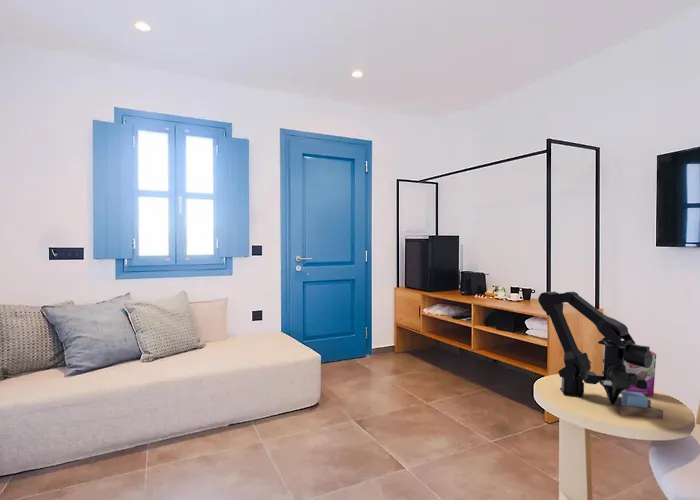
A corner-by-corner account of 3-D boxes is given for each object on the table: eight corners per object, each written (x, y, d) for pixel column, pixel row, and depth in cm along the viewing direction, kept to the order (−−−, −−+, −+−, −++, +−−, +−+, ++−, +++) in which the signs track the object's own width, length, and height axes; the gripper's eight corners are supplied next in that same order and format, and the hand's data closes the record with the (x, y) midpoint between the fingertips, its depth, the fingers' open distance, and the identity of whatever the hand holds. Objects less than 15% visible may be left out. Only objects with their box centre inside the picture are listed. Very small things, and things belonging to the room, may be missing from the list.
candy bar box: (620, 393, 150) (622, 350, 149) (615, 388, 155) (617, 347, 154) (654, 396, 147) (656, 353, 147) (647, 391, 152) (650, 349, 152)
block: (626, 412, 134) (627, 396, 134) (621, 406, 138) (621, 391, 138) (647, 414, 132) (647, 398, 132) (640, 408, 137) (641, 393, 137)
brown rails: (621, 413, 132) (621, 406, 132) (610, 402, 141) (610, 395, 141) (663, 418, 129) (663, 411, 129) (648, 406, 138) (649, 399, 138)
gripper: (591, 364, 131) (589, 410, 131) (657, 369, 126) (655, 418, 127) (580, 354, 141) (579, 397, 142) (640, 359, 137) (638, 403, 137)
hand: (611, 404), depth 137 cm, fingers closed
